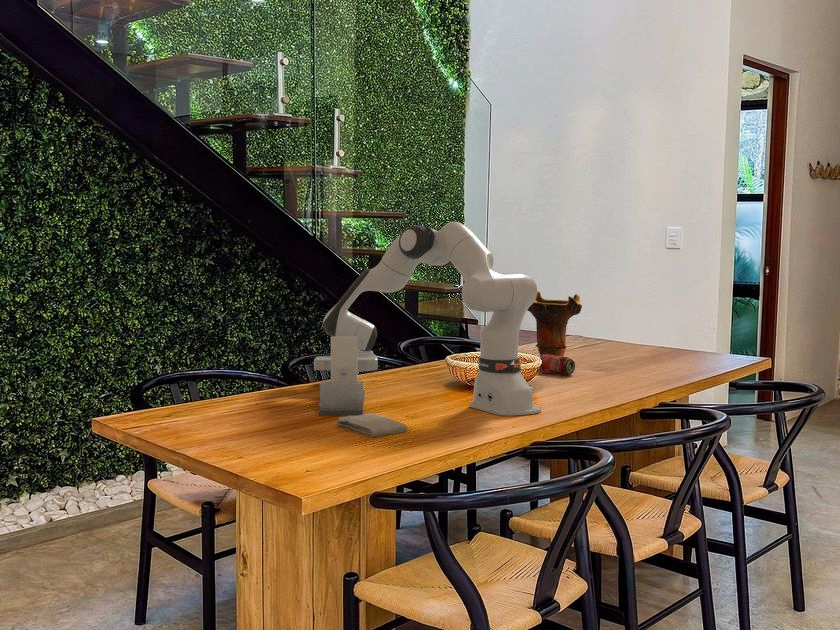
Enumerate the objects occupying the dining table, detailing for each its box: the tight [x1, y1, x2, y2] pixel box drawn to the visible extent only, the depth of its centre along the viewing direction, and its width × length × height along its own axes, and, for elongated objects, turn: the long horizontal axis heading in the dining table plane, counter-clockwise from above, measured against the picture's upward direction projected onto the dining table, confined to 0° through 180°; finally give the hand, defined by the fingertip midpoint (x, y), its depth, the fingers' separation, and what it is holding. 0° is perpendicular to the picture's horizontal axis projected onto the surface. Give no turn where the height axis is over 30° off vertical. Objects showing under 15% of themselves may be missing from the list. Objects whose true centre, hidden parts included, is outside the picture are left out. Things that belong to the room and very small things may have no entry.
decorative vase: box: [527, 289, 583, 357], centre depth 350 cm, size 21×23×28 cm
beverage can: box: [539, 354, 576, 376], centre depth 319 cm, size 7×12×7 cm, turn 47°
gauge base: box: [318, 380, 365, 417], centre depth 262 cm, size 30×12×8 cm, turn 3°
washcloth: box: [336, 412, 409, 438], centre depth 232 cm, size 12×18×3 cm, turn 38°
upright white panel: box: [330, 336, 359, 381], centre depth 269 cm, size 8×10×17 cm
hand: (345, 367), depth 275 cm, fingers closed
